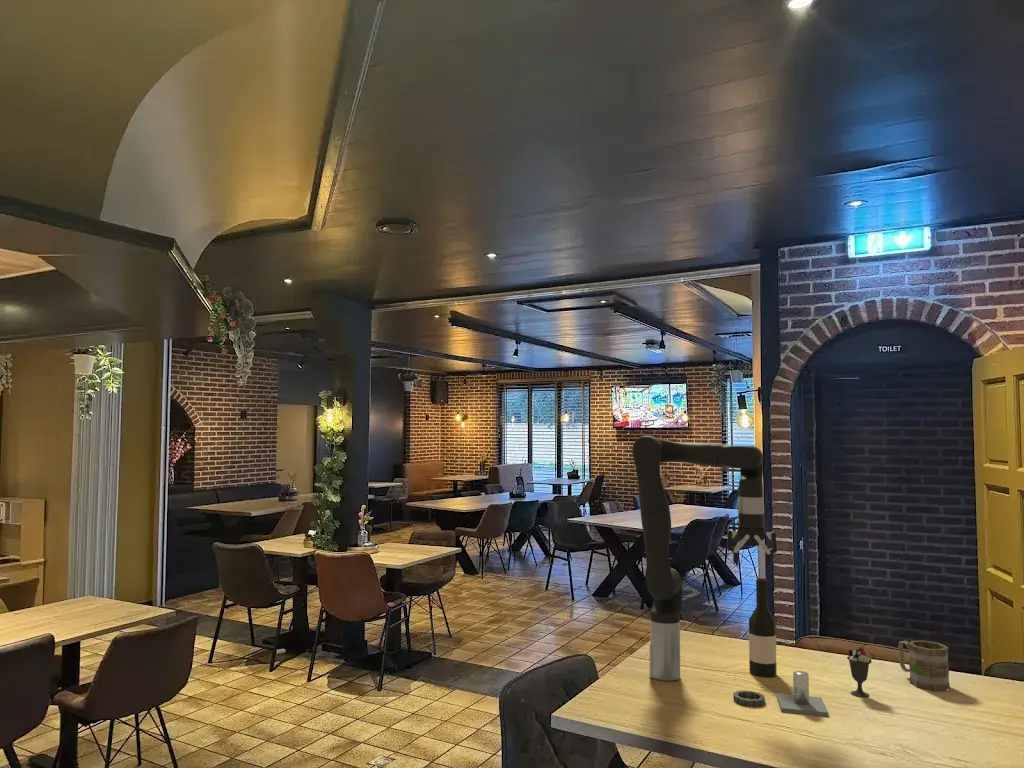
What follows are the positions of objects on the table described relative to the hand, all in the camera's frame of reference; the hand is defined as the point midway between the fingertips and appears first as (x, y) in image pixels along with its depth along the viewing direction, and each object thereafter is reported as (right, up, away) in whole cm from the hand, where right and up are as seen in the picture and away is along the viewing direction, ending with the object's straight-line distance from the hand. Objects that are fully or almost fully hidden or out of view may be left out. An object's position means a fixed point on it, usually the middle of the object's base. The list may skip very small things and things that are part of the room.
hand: (751, 566), depth 217 cm
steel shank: (+8, -34, -16) cm, 39 cm away
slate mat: (+8, -35, -16) cm, 40 cm away
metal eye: (-5, -35, -13) cm, 38 cm away
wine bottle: (+7, -37, +12) cm, 40 cm away
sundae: (+30, -36, -7) cm, 47 cm away
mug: (+54, -38, +5) cm, 66 cm away
